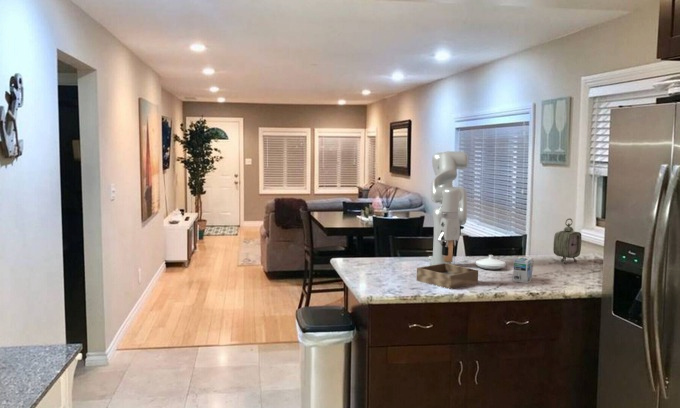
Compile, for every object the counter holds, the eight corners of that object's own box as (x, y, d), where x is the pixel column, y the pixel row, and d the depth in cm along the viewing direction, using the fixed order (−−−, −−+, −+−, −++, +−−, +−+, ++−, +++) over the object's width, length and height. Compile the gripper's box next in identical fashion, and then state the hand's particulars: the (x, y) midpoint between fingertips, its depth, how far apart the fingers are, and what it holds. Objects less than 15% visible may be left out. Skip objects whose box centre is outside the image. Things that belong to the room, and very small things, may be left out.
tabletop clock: (566, 265, 313) (569, 220, 310) (551, 262, 320) (554, 218, 317) (580, 262, 322) (583, 218, 319) (565, 259, 329) (567, 216, 326)
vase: (512, 271, 295) (512, 257, 294) (484, 272, 290) (485, 258, 289) (495, 264, 310) (496, 252, 309) (469, 265, 305) (470, 252, 304)
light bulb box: (526, 283, 267) (528, 261, 266) (512, 281, 270) (513, 259, 269) (532, 279, 276) (533, 257, 275) (518, 277, 279) (519, 255, 278)
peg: (441, 261, 265) (442, 239, 264) (447, 260, 268) (448, 239, 267) (448, 262, 262) (449, 240, 261) (454, 261, 265) (455, 240, 264)
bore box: (416, 280, 267) (417, 267, 267) (444, 275, 280) (444, 263, 280) (450, 289, 252) (450, 275, 252) (477, 283, 265) (478, 270, 264)
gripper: (444, 217, 255) (442, 257, 256) (467, 215, 266) (466, 254, 267) (431, 215, 261) (430, 255, 262) (454, 214, 271) (453, 252, 273)
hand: (448, 254), depth 265 cm, fingers closed on peg, 4 cm apart
